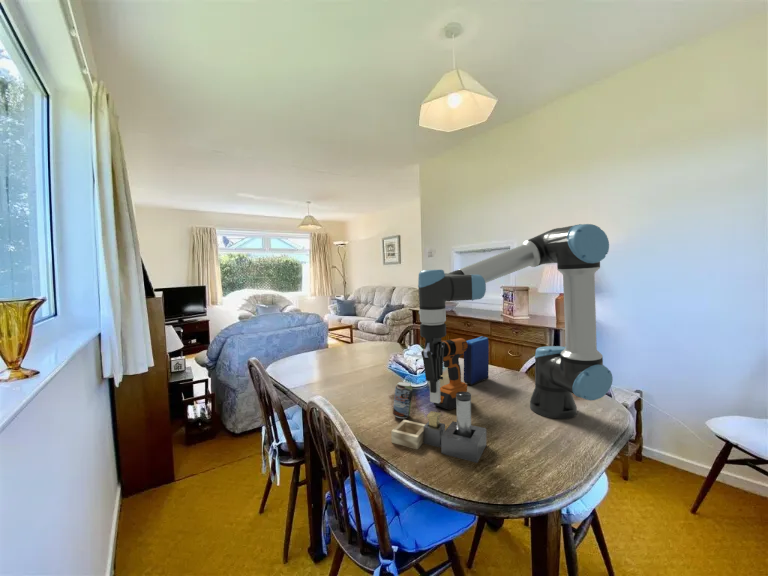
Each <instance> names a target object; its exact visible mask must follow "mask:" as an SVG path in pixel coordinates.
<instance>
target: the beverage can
mask: <svg viewBox="0 0 768 576" xmlns="http://www.w3.org/2000/svg"><path fill="white" fill-rule="evenodd" d="M412 399H413V387H412V384H411V383H409V382H405V381H399V382H397V384H396V386H395V389H394V398H393V406H392V407H393V410H392V414H393V415H394V416H395V417H396V418H398V419H407V418H408V417H410V416H411V409H412V408H411V405H412Z"/></svg>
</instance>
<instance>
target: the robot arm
mask: <svg viewBox="0 0 768 576" xmlns="http://www.w3.org/2000/svg"><path fill="white" fill-rule="evenodd" d="M609 250H610V242H609V237H608V236H607V233H606V232H605V231H604V230H603V229H601V227H599V226H597V225H596V224H591V223H583V224H581V223H580V224H574V225H569V226H565V227H563V226H562V227H556V228H552V229H550V230H547V231H546V232H545V231H544V232H543V233H541V234H538V235H536V236H533V237H532V238H529V239H527V240H524V241H523V242H522V243H521V245H520V246H517V247H514V248H511V249H508V250H506V251H504V252H501V253H497V254H496V255H493V256H490V257H488V258H485V259H482V260H479V261H477V262H475V263H472V264H469V265H466V266H464V267H461V268H459V269H455V270H453V271H451V272H448V273H446V272H445V270H444V269H422V270H420V272H418V279H417V281H418V284H417V288H418V301H419V302H418V303H419V310H418V315H419V322H420V324H419V332H420V334H419V335H420V337H421V338H424V339H425V342H424V350H421V351H420V354H421V357H422V360H423V368H424V375H425V376H424V377H425V381H426V382H429V402H430V403H433V404H434V403H440V402H441V399H440V387H441V380H443V379H444V376H443V375H444V373H443V372H444V362H443V357H444V346H445V342H441V341H442V338H444V337H446V336H447V324H446V323H445V322H446V321H447V317H446V316H447V313H446V311H447V310H446V302H459V301H460V302H461V301H463V302H464V301H471V302H473V301H476V300H481V299H483V298H484V296H485V295H486V292H487V291H486V290H487V285H486V284H487V283H489V282H492V281H494V280H496V279H499V278H501V277H502V278H503V277H505V276H508V275H510V274H513V273H514V272H518V271H520V270H522V269H525V268H528V267H532V268H536V267H538V266H541V265H547V264H556V266H557V268H556V269H557V271H558V272H559V273H561V275H562V280H563V281H562V282H563V283H562V286H563V287H562V288H563V307H564V309H563V311H564V313H563V314H564V336H565V338H564V340H565V344H564V345H565V346H560V345H556V346H555V345H549V346H548V345H547V346H540V347H537V348H536V349H535V355H534V360H535V361H534V363H535V365H534V366H535V367H534V368H535V370H534V375H535V377H534V378H535V380H534V381H535V383H534V384H535V385H534V389H533V390H532V391H533V392H532V394H531V396H530V400H529V408H530V410H531V411H532V412H534V413H536V414H537V415H540V416H543V417H545V418H546V417H547V418H551V419H559V420H560V419H561V420H562V419H563V420H564V419H572V418H575V416H577V412H578V411H577V405H576V401H575V399H574V396H573V395H575V396H576V397H578V398H581V399H583V400H587V401H596V400H599V399H601V398H603V397H604V396H606V395H607V393H608V392H610V389H611V387H612V384H613V374H612V372H611V370H609V368H608V367H607V366H605V365H604V361H603V360H604V359H603V357H604V356H603V354H602V353H601V352H600V351H599V350H598V348H597V347H598V346H597V344H598V343H597V319H596V318H597V310H596V281H595V279H596V278H595V275H596V272H598V270H599V269H600V268H601V262H602V261H603V260H604V259H605V258H606V256H607V255H608V253H609Z"/></svg>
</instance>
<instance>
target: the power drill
mask: <svg viewBox="0 0 768 576" xmlns="http://www.w3.org/2000/svg"><path fill="white" fill-rule="evenodd" d="M466 341H467V340H466V339H464V338H462V337H459V338H454V339H447V340H441V342H445V346H444V357H443V368H447V374H448V380H449V383H448V384H444V385H442V386H440V399H441V402H440V403H433V405H434V406H437V407H439V408H443V409H446V410H449V411H451V410H454V409H457V408H456V393H457V392H468V393H470V392H469V391H468V384H467V383H465V382H464V381H463V382H462V371H461V370H462V369H461V366H460V361H459V359H460V357H462V356H464V351H466V350H467V348H468V344H467V342H466Z"/></svg>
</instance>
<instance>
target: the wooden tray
mask: <svg viewBox="0 0 768 576" xmlns="http://www.w3.org/2000/svg"><path fill="white" fill-rule="evenodd" d="M425 425H426V423H420V422H417V421H411V420H407V419H403V420H402V421H401V422H399V423H398V424H397V425H396V426H395V427H394V428H393V429H392V430H391V431H390V433H391V436H390V437H391V444H392V443H393V444H396V445H399V446H404V447H407V448H411V449H414V450H419V448H421V446H422V445H423V444H424V429H423V427H424V426H425Z"/></svg>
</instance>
